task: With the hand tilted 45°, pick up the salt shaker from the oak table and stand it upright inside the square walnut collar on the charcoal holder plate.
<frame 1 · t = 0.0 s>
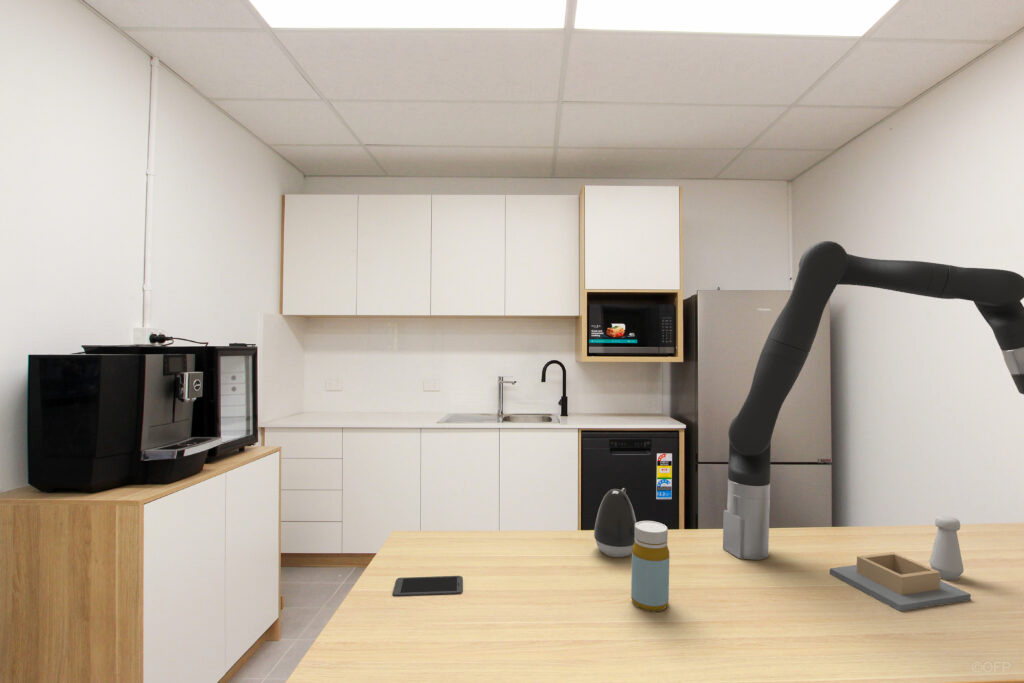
holder: (896, 586, 111), on the table
salt shaker: (945, 577, 116), on the table
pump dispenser: (615, 553, 126), on the table
bottle: (649, 604, 103), on the table
cell phone: (428, 589, 109), on the table
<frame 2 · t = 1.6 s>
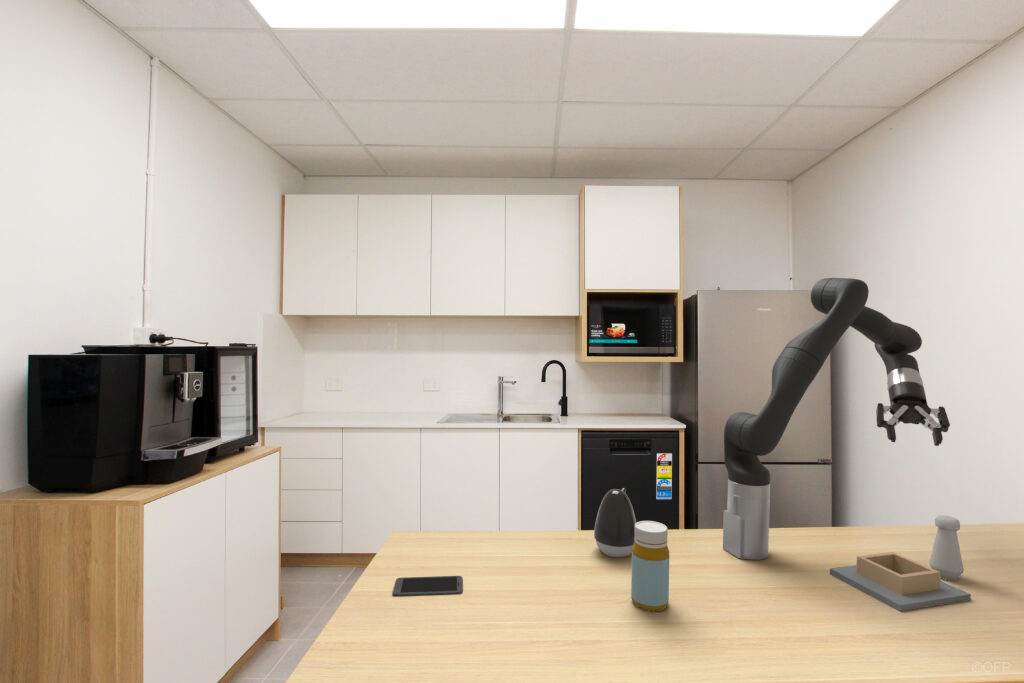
hand: (915, 442, 128), 27 cm above the table, tool tilted 45°, fingers open, 8 cm apart
nothing on the table moved.
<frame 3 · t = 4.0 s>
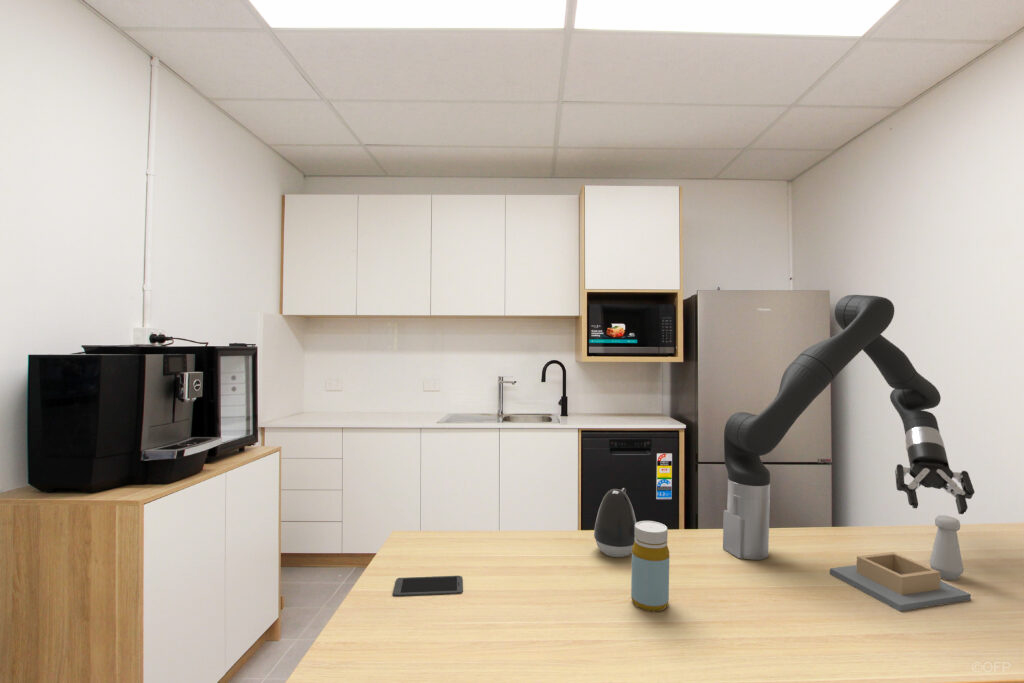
hand: (938, 509, 121), 13 cm above the table, tool tilted 45°, fingers open, 8 cm apart
nothing on the table moved.
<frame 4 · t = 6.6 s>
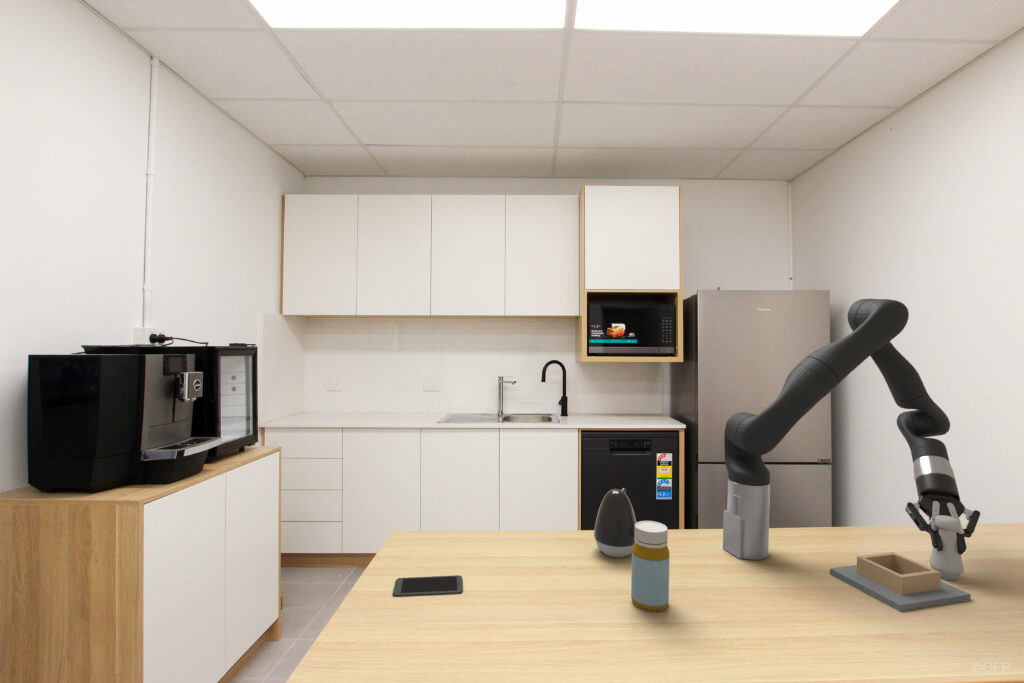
hand: (950, 551, 114), 6 cm above the table, tool tilted 45°, fingers closed on salt shaker, 3 cm apart
salt shaker: (946, 577, 116), on the table, touching gripper
everything else where it was.
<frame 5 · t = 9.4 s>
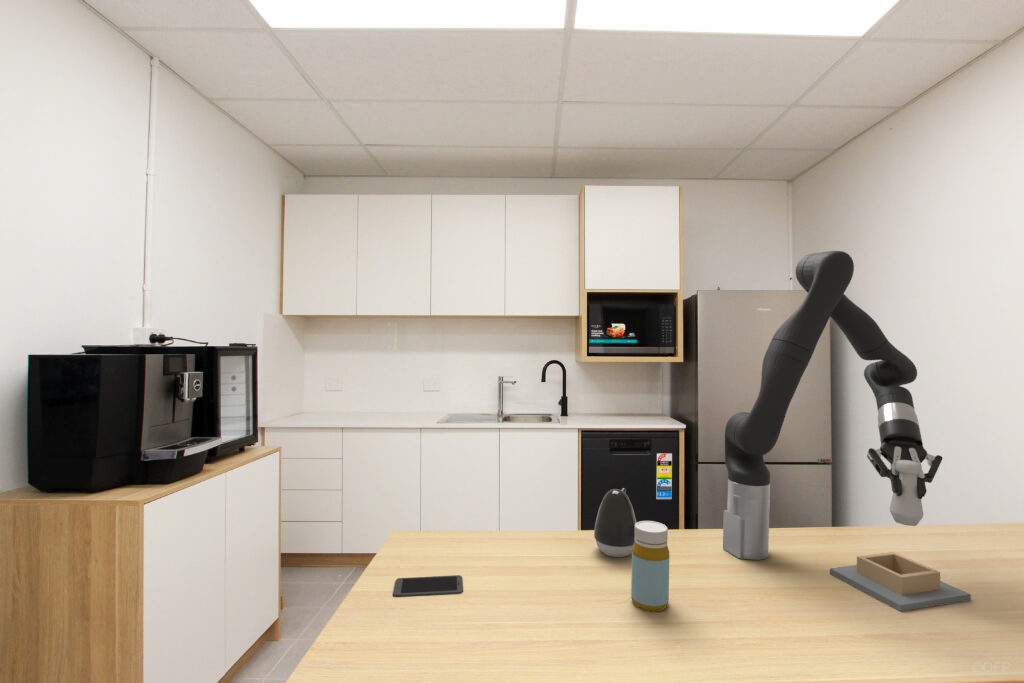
hand: (910, 495, 110), 19 cm above the table, tool tilted 45°, fingers closed on salt shaker, 3 cm apart
salt shaker: (905, 523, 112), point 13 cm above the table, touching gripper
everything else where it was.
when the fingers open (9 cm above the table, at t = 12.7 s): salt shaker drops 1 cm, resting on holder.
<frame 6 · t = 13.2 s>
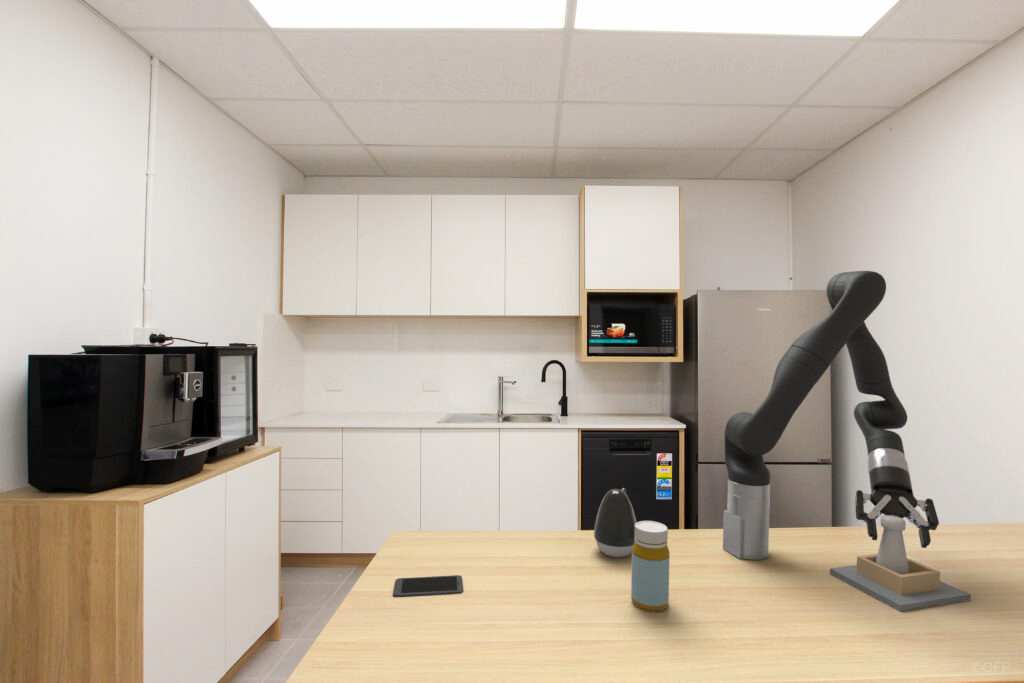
hand: (899, 542, 110), 10 cm above the table, tool tilted 45°, fingers open, 8 cm apart
salt shaker: (891, 579, 112), point 1 cm above the table, touching holder
everything else where it was.
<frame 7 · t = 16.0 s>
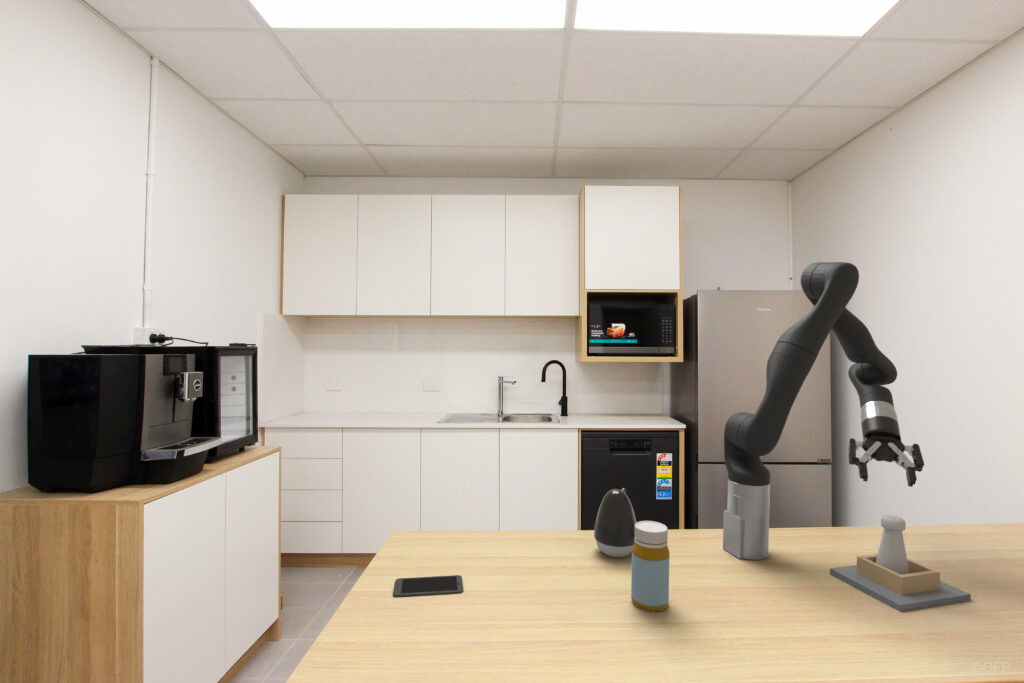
hand: (888, 482, 120), 19 cm above the table, tool tilted 45°, fingers open, 8 cm apart
nothing on the table moved.
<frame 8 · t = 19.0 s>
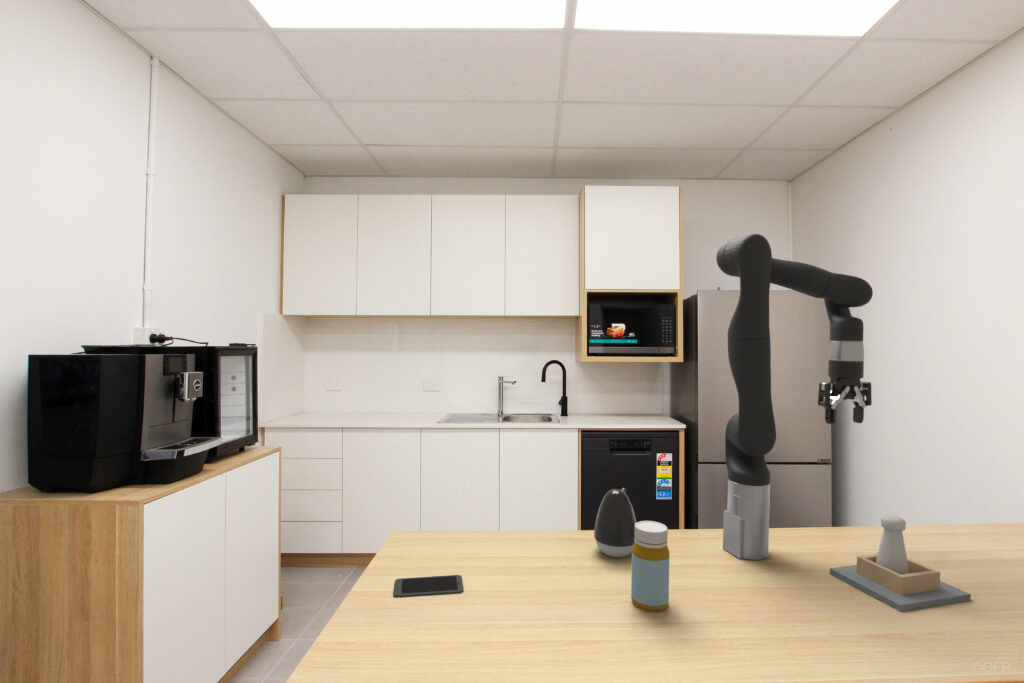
hand: (844, 423, 134), 30 cm above the table, tool pointing down, fingers open, 8 cm apart
nothing on the table moved.
at the end: salt shaker 1.1 cm off-centre on the holder, point 1.0 cm above the holder's base; salt shaker tilted 0°; the gripper is holding nothing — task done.
